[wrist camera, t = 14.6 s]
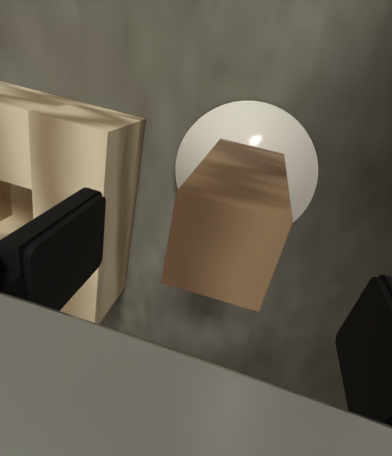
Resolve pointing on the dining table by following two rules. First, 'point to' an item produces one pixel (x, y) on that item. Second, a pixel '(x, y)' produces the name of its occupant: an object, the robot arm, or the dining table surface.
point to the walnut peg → (230, 225)
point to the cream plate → (255, 144)
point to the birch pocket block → (71, 176)
